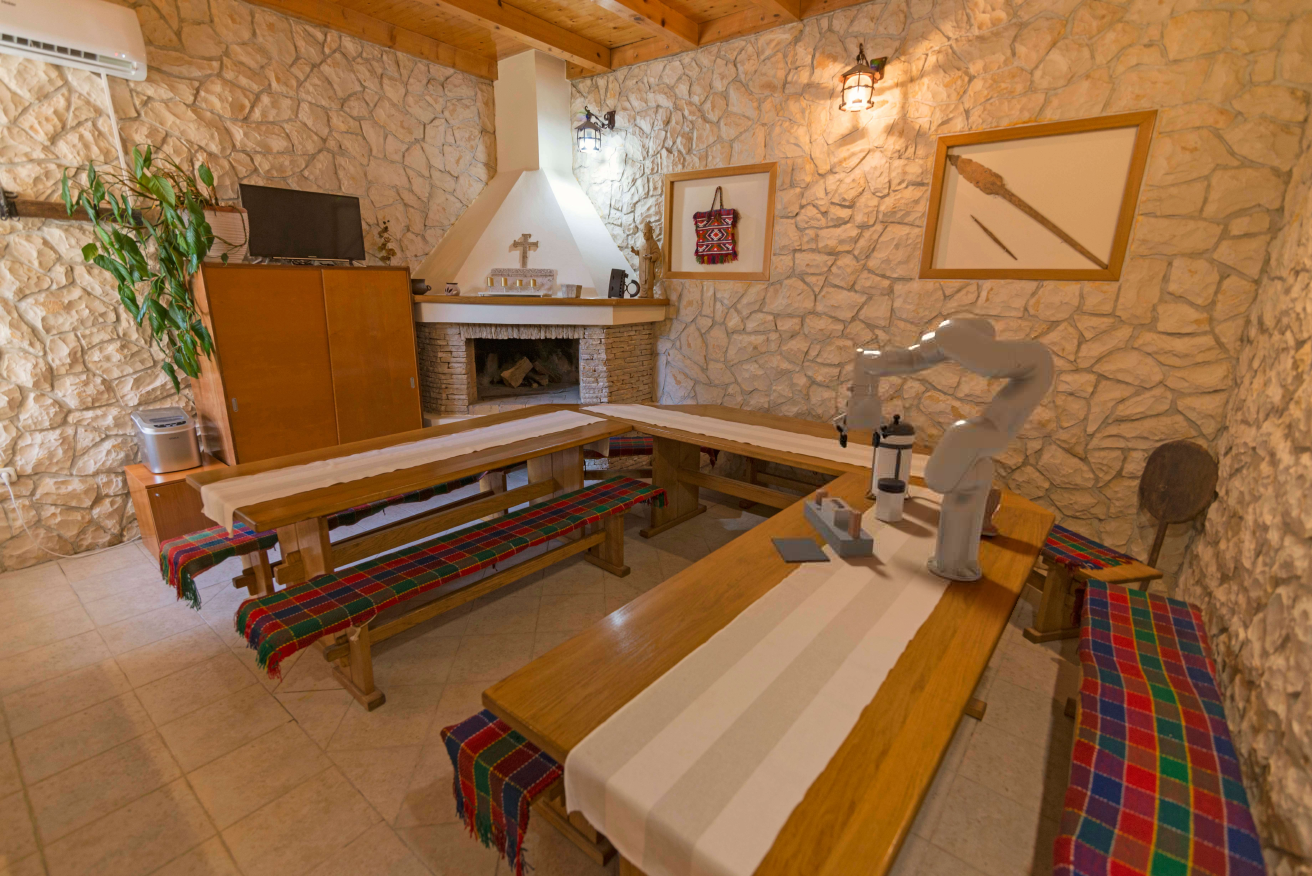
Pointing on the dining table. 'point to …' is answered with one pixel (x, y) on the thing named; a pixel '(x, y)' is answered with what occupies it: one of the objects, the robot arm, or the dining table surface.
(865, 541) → the body
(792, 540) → the rubber mat
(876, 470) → the coffee press
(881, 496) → the jar
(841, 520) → the light grey box
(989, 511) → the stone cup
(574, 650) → the dining table surface
